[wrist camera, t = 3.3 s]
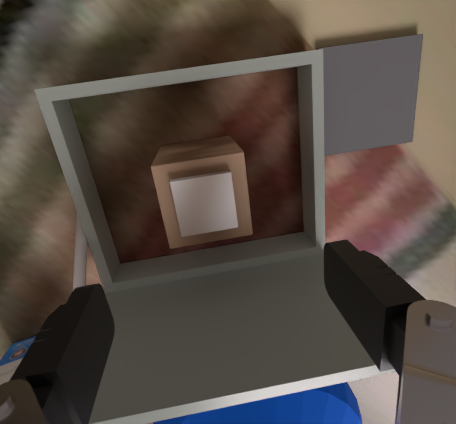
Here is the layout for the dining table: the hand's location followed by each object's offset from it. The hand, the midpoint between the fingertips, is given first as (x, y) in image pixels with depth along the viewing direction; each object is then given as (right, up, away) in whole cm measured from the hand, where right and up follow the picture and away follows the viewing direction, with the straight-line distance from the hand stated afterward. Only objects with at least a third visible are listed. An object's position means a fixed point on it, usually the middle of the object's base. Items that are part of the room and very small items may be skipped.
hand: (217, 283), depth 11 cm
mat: (+11, +12, +14) cm, 21 cm away
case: (-2, +6, +14) cm, 16 cm away
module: (-2, +6, +14) cm, 16 cm away
